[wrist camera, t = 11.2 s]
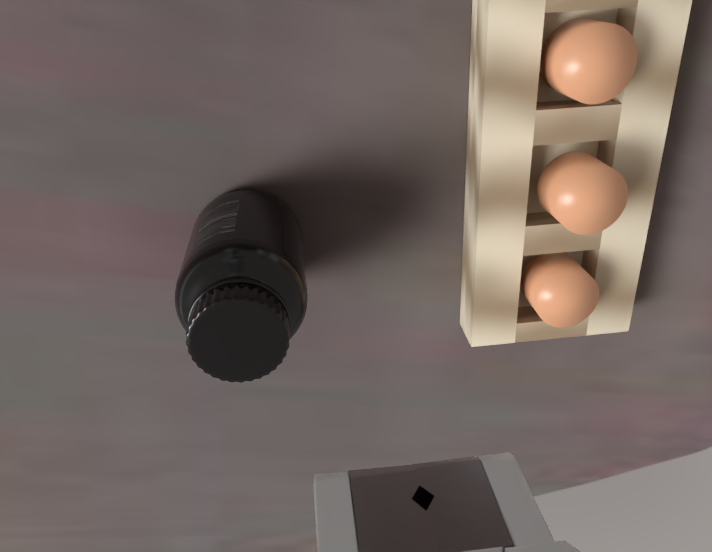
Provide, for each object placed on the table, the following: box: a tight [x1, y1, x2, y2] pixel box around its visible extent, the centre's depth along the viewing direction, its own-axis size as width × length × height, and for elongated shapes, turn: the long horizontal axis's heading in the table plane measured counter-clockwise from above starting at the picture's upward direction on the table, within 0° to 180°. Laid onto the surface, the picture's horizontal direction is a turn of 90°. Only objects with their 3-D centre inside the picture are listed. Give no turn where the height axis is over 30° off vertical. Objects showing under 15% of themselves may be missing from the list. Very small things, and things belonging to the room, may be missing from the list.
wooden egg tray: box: [460, 0, 692, 347], centre depth 37 cm, size 22×11×3 cm, turn 3°
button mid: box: [537, 151, 628, 235], centre depth 34 cm, size 4×4×3 cm
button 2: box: [540, 19, 637, 104], centre depth 32 cm, size 4×4×3 cm
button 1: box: [520, 252, 599, 328], centre depth 39 cm, size 4×4×3 cm
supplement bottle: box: [175, 190, 307, 382], centre depth 33 cm, size 7×7×12 cm
